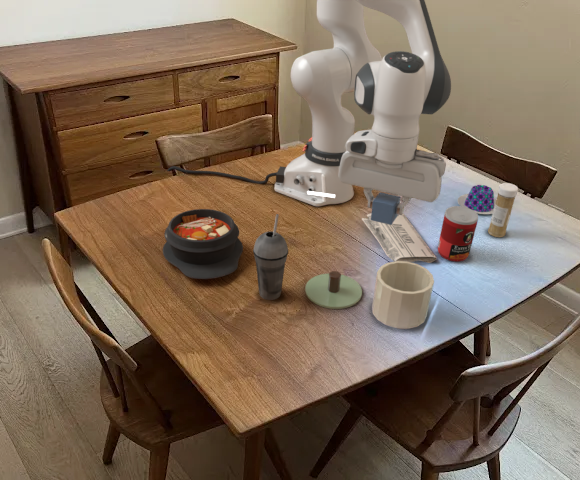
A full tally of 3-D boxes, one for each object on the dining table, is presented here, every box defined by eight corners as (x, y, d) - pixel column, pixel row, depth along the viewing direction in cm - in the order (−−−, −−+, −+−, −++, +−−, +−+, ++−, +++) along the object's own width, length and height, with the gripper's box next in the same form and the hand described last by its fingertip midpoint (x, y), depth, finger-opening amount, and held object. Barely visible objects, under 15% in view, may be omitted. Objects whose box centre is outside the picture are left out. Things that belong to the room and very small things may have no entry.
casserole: (156, 233, 150) (152, 203, 145) (230, 224, 155) (229, 194, 150) (172, 291, 131) (168, 259, 126) (255, 278, 136) (255, 247, 131)
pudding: (499, 220, 163) (503, 202, 160) (454, 211, 166) (458, 194, 162) (502, 200, 172) (506, 183, 169) (459, 192, 175) (463, 176, 172)
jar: (364, 320, 126) (369, 283, 120) (381, 291, 134) (387, 255, 129) (417, 336, 122) (425, 299, 117) (431, 306, 131) (439, 269, 125)
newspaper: (359, 220, 159) (361, 211, 158) (402, 221, 163) (404, 212, 161) (388, 267, 142) (391, 258, 140) (436, 267, 145) (438, 258, 143)
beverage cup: (252, 285, 134) (252, 205, 122) (285, 285, 135) (288, 205, 123) (253, 306, 128) (253, 223, 116) (287, 305, 129) (291, 223, 117)
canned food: (450, 265, 144) (459, 225, 137) (430, 248, 150) (438, 209, 143) (475, 258, 147) (485, 218, 140) (454, 242, 153) (463, 203, 146)
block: (370, 220, 123) (372, 200, 120) (377, 211, 126) (379, 191, 123) (391, 225, 121) (394, 205, 119) (397, 215, 125) (400, 196, 122)
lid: (295, 301, 130) (296, 281, 127) (318, 272, 139) (319, 253, 136) (349, 317, 126) (352, 297, 123) (369, 286, 136) (371, 267, 133)
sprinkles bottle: (508, 235, 157) (522, 188, 148) (496, 239, 154) (509, 192, 146) (495, 227, 160) (508, 180, 151) (483, 231, 157) (495, 184, 149)
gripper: (451, 149, 114) (439, 215, 122) (349, 130, 120) (344, 193, 128) (443, 161, 109) (431, 229, 117) (338, 140, 115) (333, 206, 124)
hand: (385, 210), depth 123 cm, fingers closed on block, 4 cm apart
